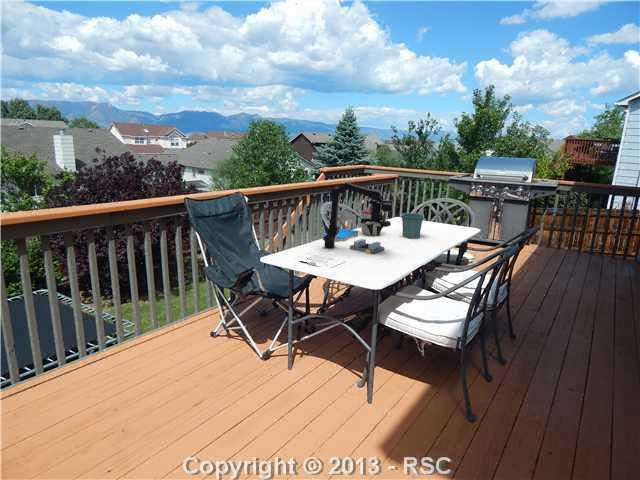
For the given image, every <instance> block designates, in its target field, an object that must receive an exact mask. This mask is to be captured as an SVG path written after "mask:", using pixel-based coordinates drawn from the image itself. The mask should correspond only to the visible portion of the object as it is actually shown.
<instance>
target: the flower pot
mask: <svg viewBox="0 0 640 480" xmlns="http://www.w3.org/2000/svg"><path fill="white" fill-rule="evenodd" d="M400 216H401V221H402V224H401V225H402V238H403V237H404V238H407V239H418V238H420V237H421V230H422V225H423V221H424V217H425V215H424V214H421V213H416V212H415V213H414V212H403V213H401V214H400Z"/></svg>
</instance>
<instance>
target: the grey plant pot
mask: <svg viewBox="0 0 640 480" xmlns="http://www.w3.org/2000/svg"><path fill="white" fill-rule="evenodd" d="M381 212H382V215H384V214H385V211H383V210H381ZM370 213H371V206H369V208H367V209H362V210H361V211H359V215H360V220H361V219H362V218H365V217H366V218H370V219H371V214H370ZM365 224H366V223H361V222H360V228H361V233H362V234H363V235H365V236H370V237H372V236H373V237H375V236H377V226H379V224H375V223H374V225H373V235H371V234H370V232H369V229H368V227H367V226H366V225H365Z"/></svg>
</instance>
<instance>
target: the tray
mask: <svg viewBox="0 0 640 480" xmlns="http://www.w3.org/2000/svg"><path fill="white" fill-rule="evenodd" d="M302 256H304V257H303V259H304V258H305V257H306V259H304V260H307V261H311V262H307V263H308V265H312V266H316V267H319V268H321V267H328V268H331V269H333V267H336V266H338V265H340V264H343V263H345V262H346V261H344V260H340V259H341V258H340V257H336V256H332V255H331V256H330V255H328V254H322V253H317V254H312V253H304V254H302V255H299V256H298V257H302ZM307 263H306V264H307Z"/></svg>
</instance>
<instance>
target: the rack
mask: <svg viewBox="0 0 640 480" xmlns="http://www.w3.org/2000/svg"><path fill="white" fill-rule="evenodd" d="M369 244H370V243H367V242H366V245H363V246H360V247H355V246H354V244H351V245H350V246H349V250H352V251H357V252H362V253H365V254H369V255H376V254H378V253H381V252H383V251H385V247H384V246H382V245H380V248H378V249H375V250H369V249H368V245H369Z"/></svg>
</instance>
